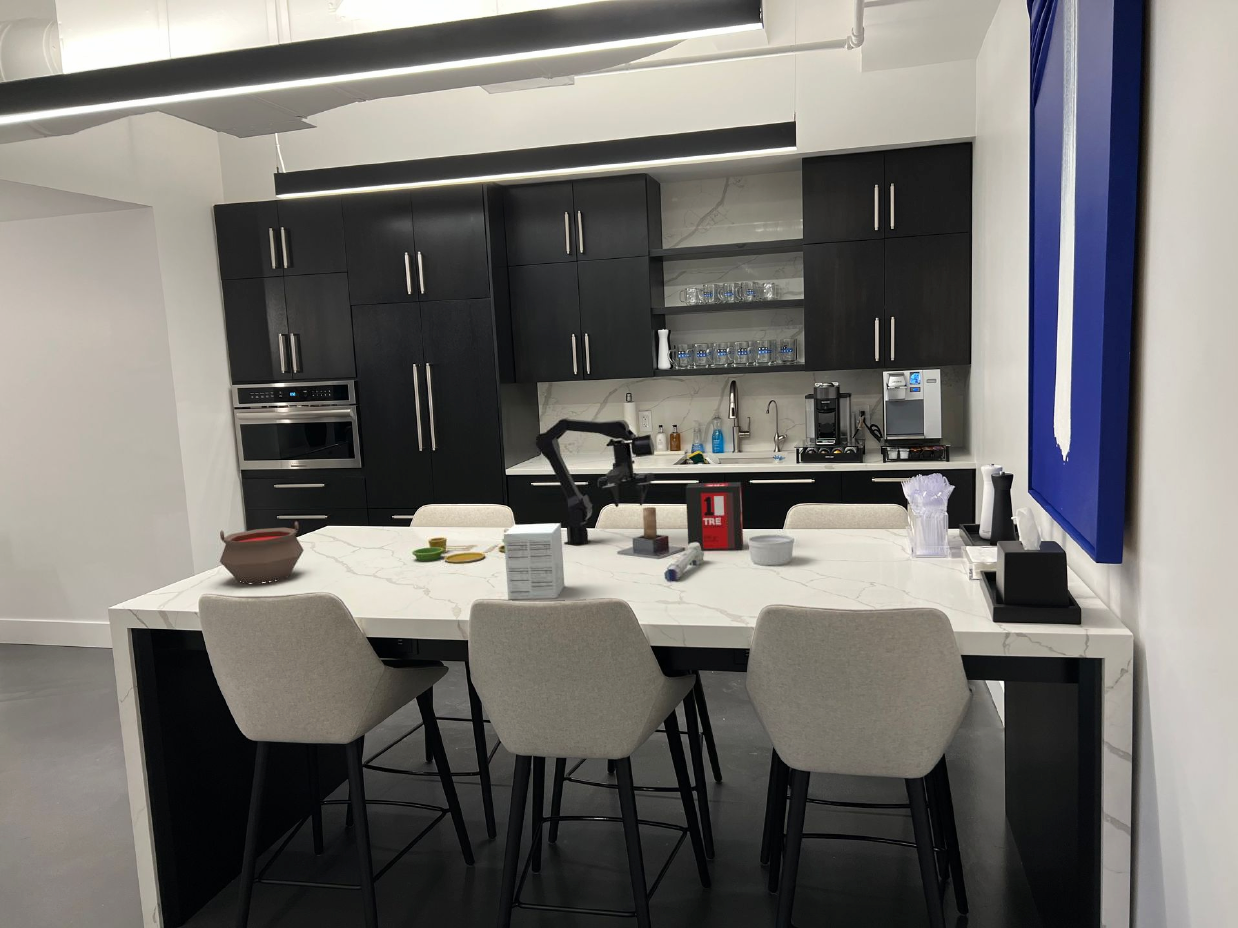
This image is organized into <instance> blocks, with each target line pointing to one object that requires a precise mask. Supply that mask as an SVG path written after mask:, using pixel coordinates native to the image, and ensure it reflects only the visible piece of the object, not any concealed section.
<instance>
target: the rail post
mask: <svg viewBox="0 0 1238 928" xmlns="http://www.w3.org/2000/svg"><path fill="white" fill-rule="evenodd" d="M642 516H643V523H642V524H643V535H644V539H656V538H657V535H658V531H657V530H658V528H657V508H656V507H652V506H651V507H643V508H642Z"/></svg>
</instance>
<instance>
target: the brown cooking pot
mask: <svg viewBox="0 0 1238 928" xmlns="http://www.w3.org/2000/svg"><path fill="white" fill-rule="evenodd" d="M299 529H300V526H299V522H298V521H295V522H294V528H288V527H274V528H259V529H258V528H257V529H252V530H246V531H241V532H235V533H231V534H229V535H227V536H225V532H224V530H220V532H219V535H220V537H219V538H220V540H221V541H222V542H223V543H224V544H225V545H224V549H223V551H222V554H221V555H220V556H221V557H220V559H219V563H220V564H221V565H223V567H225V569H226V570H227V571H228V572H229V573H230V574H231V575H232V576H233V577H234V578H235V580H236V581H238V582H239V581H241V582H244V583H262V582H269V581H275V580H279V581H282V580H281V579H283V580H285V579H287V578H288V577H289V576H290V575H291V573H292V572H293V570H294V568H295V566H296V565H297V563H298V561H299V560H300V558H301V556H302V554H303V553H304V551H305V550H304V548H303V546H302V544H301V543H300V542H299V540H298V538H297V536H296V534H297V533H298V531H299ZM287 576H288V577H287ZM286 577H287V578H286ZM275 582H276V581H275ZM244 583H243V584H244Z"/></svg>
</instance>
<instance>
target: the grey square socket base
mask: <svg viewBox="0 0 1238 928" xmlns="http://www.w3.org/2000/svg"><path fill="white" fill-rule="evenodd" d="M669 543H670V541H669V535H665V534H657V538H656V539H644V534H642V535H639V536H636V537H632V546H630V547H628V548H624V549H620V550H617V551H616V554H617V555H623V556H631V557H639V558H640V557H641V558H646V559H654V560H655V559H656V560H659V559H661V558H666V557H668V556H671V555H674V554H678V553H680V552H684V551H685V550H686V547H683V546H674V545H670V544H669Z"/></svg>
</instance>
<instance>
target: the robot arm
mask: <svg viewBox="0 0 1238 928" xmlns="http://www.w3.org/2000/svg"><path fill="white" fill-rule="evenodd" d="M568 431H569V432H581V433H591V434H599V435H603V436H605V437H609V438H610V440H609V441H608V442H607V443H606V447H612V450H613V457H614V458H613V459H614V462H612V469H610V470H609V471H607V473H606V474H605V476H602V477H599V478H598V480H597V487H599V488H601V489H602V490H605V491H606V492H607V493H608V495H609V496H610V498H611V500H612V501H613V504H614V506H615V507H616V508H617V507H619V504H620V503H619V501H620V500H619V484H621V483H622V484H624V483H635V482H636V483H637V484H635V488H636V489H637V495H638V496H637V497H638V502H639V503H638V504H639V506H642V505H644V501H645V497H646V494H647V491H648V488H649V487H650V485H652V482H655V481H656V480H655V475H654V474H653V472H647V473H646V472H645V473H644V472H643V473H638V474H637V473H636V472H634V464H635V460H633V456H632V455H634V456H635V458H639V457H640V458H641V457H648V456H654V455H655V444H654V441H653V439H652V434H646V435H640V436H639V435H638V436H637V435H636V434H635V433H634V432H633V431H632V430H631V429H630V425H629V424H628V422H627V421H626V420H624V419H617V420H607V421H595V420H587V419H586V420H585V419H573V418H569V417H565V418H561V419H559V420H558V421H557V423H555V424H553V426H552V427H550V428H549V429H548V430H547V431H545V432H542V433H539V434H538V435H537V436H536V438H535V440H534V443H535V446H536V448H537V449H538V450H539V452H540V453H541V455H542V456H544V457H545V459H547V460H548V462H549V464H550V467H551V469H552V471H553V472H554V474H555V476H556V479H557V481H558V482H559V484H560V486H561V489H562V490H563V492H564V494H565V496H566V498H567V506H568V511H569V514H570V515H569V516H568V517H567V518H566V519H565V520H564V525H565V526H566V527H565V528H566V538H567V539H566V541H564V545H571V546H573V545H574V546H581V545H584V544H588V543H591V540H589V534H588V533H589V532H588V527H587V524H586V523H587V522H588V518H590V517H591V516H592V513H593V508H592V506H593V503H591V502H590V498H589V496H588V495H587V494H586V495H582V494H581V492H580V491H579V489H578V488H577V485H576V483H575V481H574V479H573V477H572V475H571V473H570V471H569V469H568V467H567V464H566V463H565V461H564V459H563V457H562V454H561V447H560V442H559V439H561V437H562V436H564V434H566V432H568Z"/></svg>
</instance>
